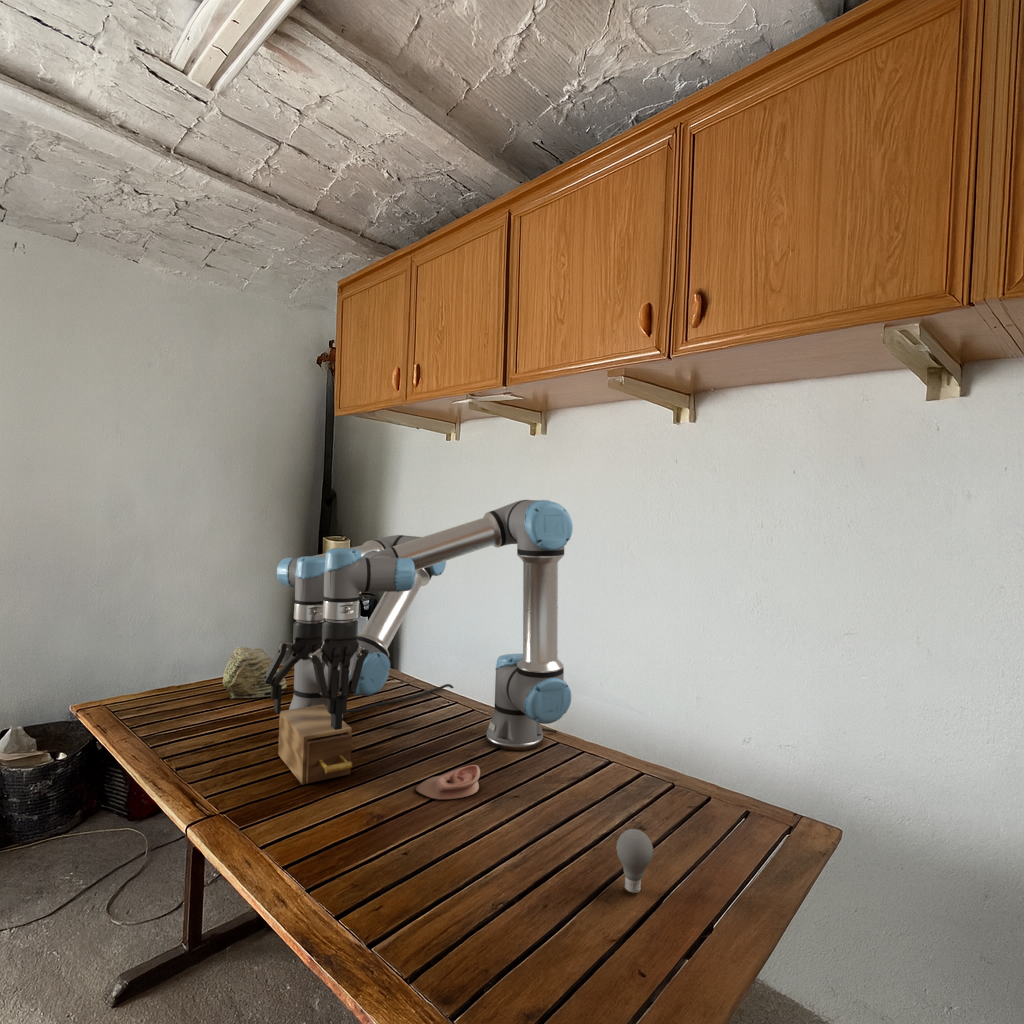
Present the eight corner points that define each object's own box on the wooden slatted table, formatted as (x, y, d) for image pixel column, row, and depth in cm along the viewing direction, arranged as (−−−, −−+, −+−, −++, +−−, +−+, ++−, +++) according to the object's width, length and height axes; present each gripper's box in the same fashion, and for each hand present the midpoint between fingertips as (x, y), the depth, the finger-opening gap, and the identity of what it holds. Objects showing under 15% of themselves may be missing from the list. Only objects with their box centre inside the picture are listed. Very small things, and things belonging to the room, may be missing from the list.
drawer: (360, 783, 139) (361, 743, 138) (316, 794, 133) (317, 752, 133) (324, 747, 158) (325, 711, 157) (284, 754, 152) (285, 718, 152)
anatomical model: (411, 777, 135) (429, 756, 147) (410, 795, 136) (428, 773, 147) (471, 785, 133) (484, 763, 144) (470, 804, 133) (483, 781, 144)
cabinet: (349, 774, 145) (351, 728, 145) (302, 785, 139) (303, 736, 139) (322, 746, 160) (323, 704, 160) (278, 754, 154) (279, 711, 154)
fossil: (218, 695, 195) (220, 647, 195) (278, 685, 208) (279, 640, 207) (228, 703, 189) (230, 653, 188) (289, 692, 201) (290, 645, 201)
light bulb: (610, 879, 108) (613, 822, 108) (644, 879, 109) (647, 822, 109) (619, 902, 102) (622, 840, 102) (655, 901, 103) (658, 840, 103)
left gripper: (260, 627, 143) (256, 720, 143) (364, 619, 158) (360, 704, 158) (252, 621, 149) (248, 710, 150) (353, 614, 164) (349, 696, 164)
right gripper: (316, 625, 130) (312, 738, 131) (375, 620, 138) (371, 727, 138) (304, 618, 137) (300, 727, 137) (362, 614, 144) (358, 717, 145)
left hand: (306, 707), depth 154 cm, fingers open, 13 cm apart
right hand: (336, 727), depth 138 cm, fingers closed
